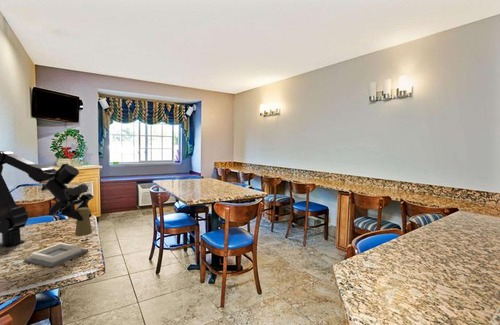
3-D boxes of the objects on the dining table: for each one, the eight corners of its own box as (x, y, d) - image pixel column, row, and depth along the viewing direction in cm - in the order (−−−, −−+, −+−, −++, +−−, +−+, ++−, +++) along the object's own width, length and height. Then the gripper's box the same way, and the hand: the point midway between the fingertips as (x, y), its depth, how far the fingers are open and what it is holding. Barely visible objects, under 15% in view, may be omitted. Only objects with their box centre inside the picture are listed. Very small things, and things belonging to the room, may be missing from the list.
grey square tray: (24, 261, 94) (24, 254, 94) (62, 246, 108) (62, 240, 108) (51, 267, 90) (51, 260, 90) (87, 251, 103) (87, 245, 103)
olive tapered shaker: (80, 237, 104) (80, 210, 103) (71, 234, 107) (71, 208, 106) (95, 232, 110) (95, 207, 109) (86, 230, 112) (85, 205, 111)
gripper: (55, 181, 97) (84, 211, 98) (88, 175, 116) (112, 200, 116) (36, 201, 98) (64, 230, 98) (72, 192, 117) (95, 217, 117)
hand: (86, 218), depth 107 cm, fingers closed on olive tapered shaker, 5 cm apart
